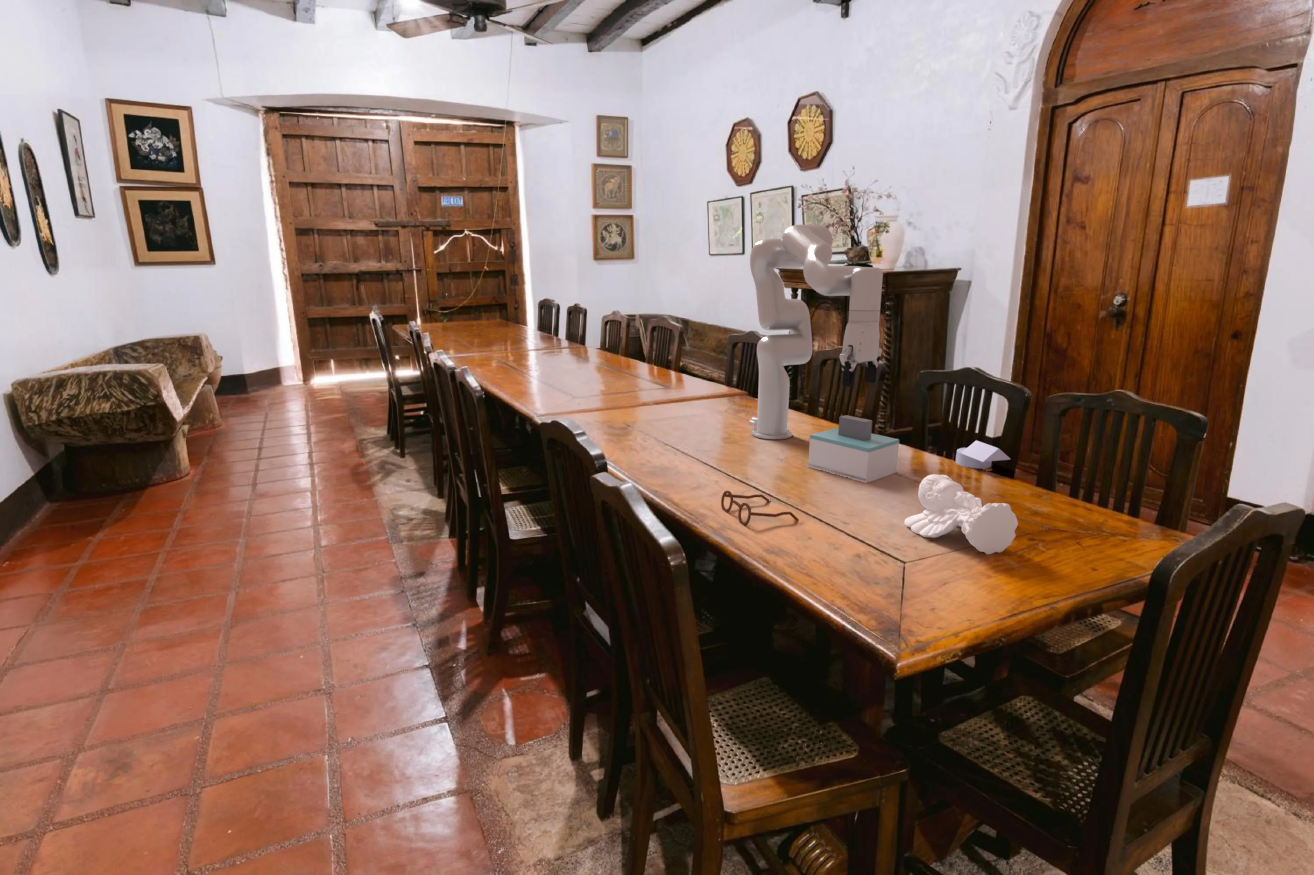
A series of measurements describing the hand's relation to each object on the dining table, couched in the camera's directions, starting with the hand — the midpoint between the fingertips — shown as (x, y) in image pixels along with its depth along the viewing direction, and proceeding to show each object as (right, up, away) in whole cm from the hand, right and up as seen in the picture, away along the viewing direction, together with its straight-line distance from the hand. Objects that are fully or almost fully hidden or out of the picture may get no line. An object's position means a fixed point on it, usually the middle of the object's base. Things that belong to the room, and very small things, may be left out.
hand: (859, 384), depth 183 cm
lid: (0, -15, +4) cm, 15 cm away
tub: (0, -22, +6) cm, 23 cm away
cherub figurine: (+8, -35, -39) cm, 52 cm away
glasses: (-30, -31, -26) cm, 50 cm away
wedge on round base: (+36, -22, +10) cm, 43 cm away
